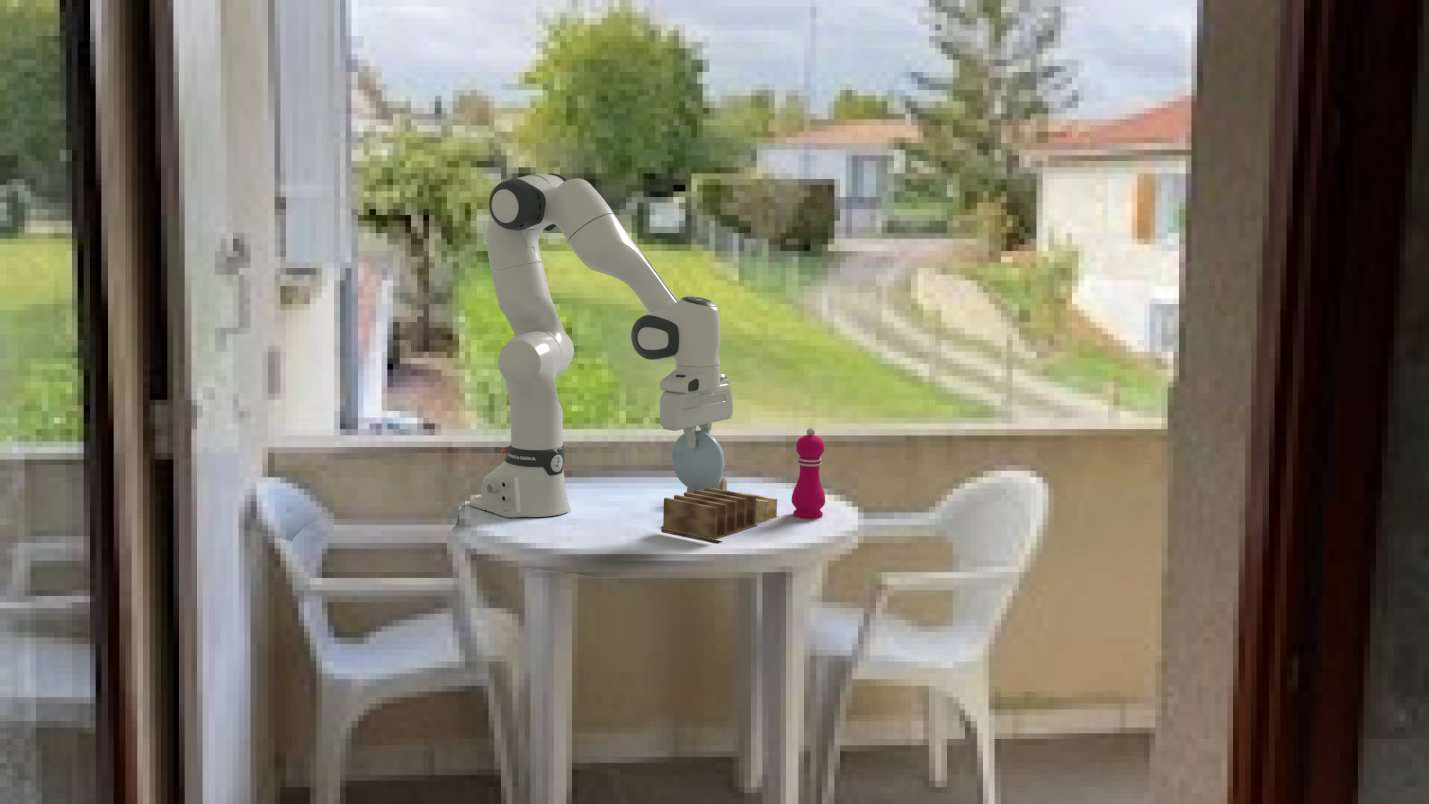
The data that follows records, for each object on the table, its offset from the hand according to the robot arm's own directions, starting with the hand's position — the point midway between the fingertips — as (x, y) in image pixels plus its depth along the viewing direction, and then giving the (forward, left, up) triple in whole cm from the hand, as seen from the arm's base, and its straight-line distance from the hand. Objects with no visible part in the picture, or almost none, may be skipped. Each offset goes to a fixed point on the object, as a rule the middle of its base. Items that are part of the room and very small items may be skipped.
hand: (697, 446), depth 295 cm
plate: (0, 0, -9) cm, 9 cm away
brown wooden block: (+1, +19, -19) cm, 27 cm away
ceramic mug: (-14, +23, -19) cm, 33 cm away
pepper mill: (+10, +27, -19) cm, 34 cm away
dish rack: (0, +5, -19) cm, 19 cm away
